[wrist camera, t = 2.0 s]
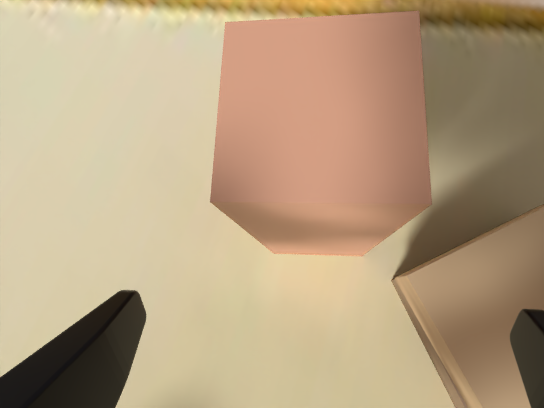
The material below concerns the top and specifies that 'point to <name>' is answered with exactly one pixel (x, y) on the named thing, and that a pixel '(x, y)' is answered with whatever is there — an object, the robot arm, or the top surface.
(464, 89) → the top surface
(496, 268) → the tower top
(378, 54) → the pillar
